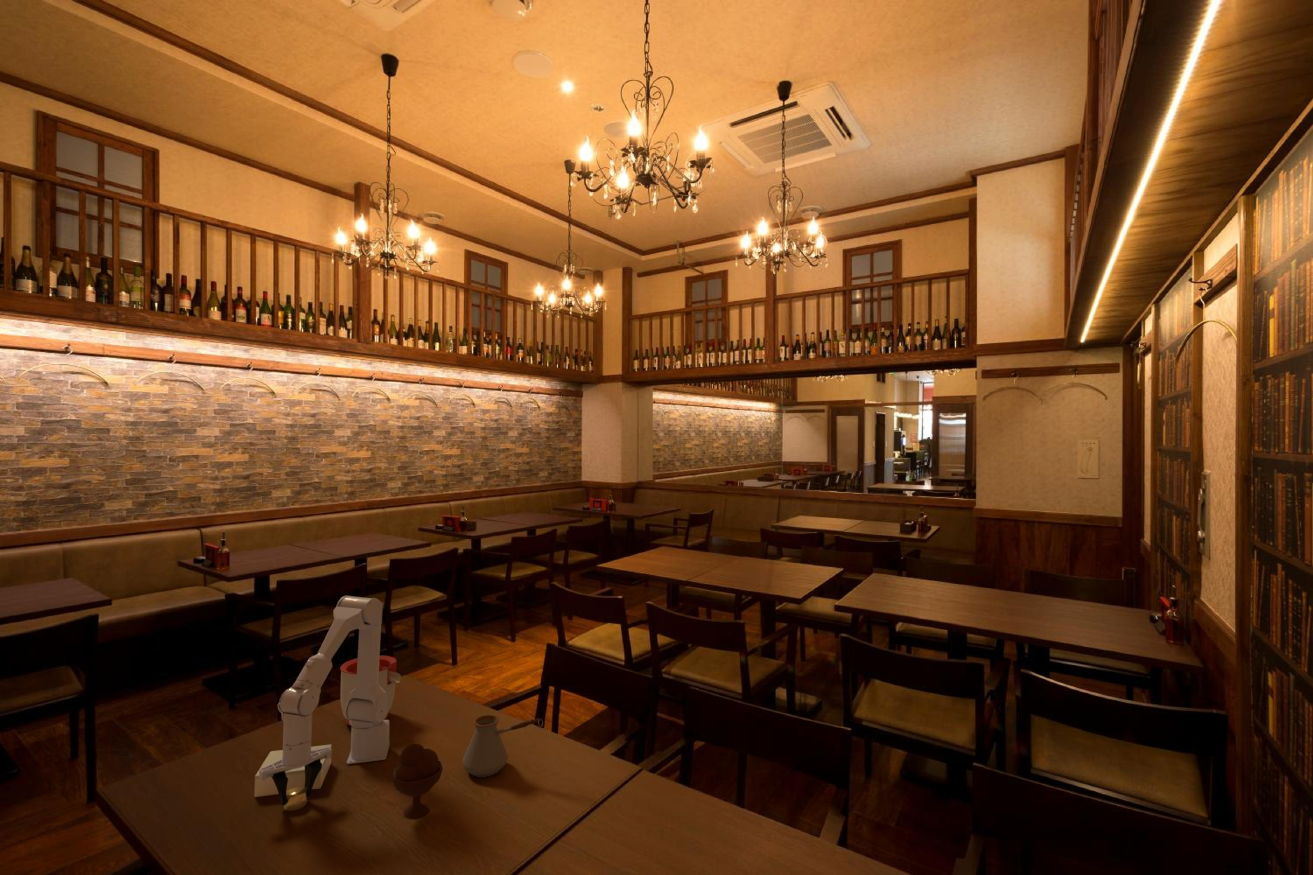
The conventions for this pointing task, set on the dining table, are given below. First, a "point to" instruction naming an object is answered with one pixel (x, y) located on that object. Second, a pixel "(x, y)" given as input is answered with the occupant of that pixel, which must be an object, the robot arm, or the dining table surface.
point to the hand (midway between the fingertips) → (295, 798)
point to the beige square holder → (289, 774)
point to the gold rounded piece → (296, 798)
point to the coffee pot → (488, 746)
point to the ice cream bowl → (416, 776)
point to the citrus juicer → (385, 680)
